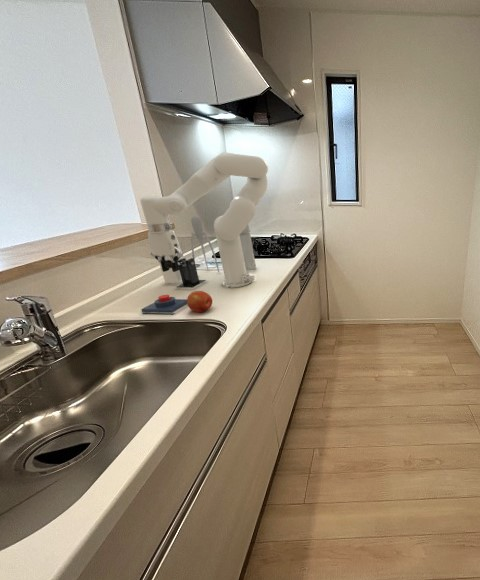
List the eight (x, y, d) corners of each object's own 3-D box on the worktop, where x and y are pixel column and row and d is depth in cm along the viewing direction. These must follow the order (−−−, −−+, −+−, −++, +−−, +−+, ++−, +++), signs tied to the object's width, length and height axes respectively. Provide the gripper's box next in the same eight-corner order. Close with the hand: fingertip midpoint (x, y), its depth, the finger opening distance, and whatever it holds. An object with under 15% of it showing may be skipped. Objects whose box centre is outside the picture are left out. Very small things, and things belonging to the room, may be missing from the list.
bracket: (193, 289, 141) (186, 262, 136) (176, 289, 142) (169, 262, 137) (206, 282, 150) (200, 256, 146) (191, 282, 151) (184, 256, 146)
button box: (190, 304, 125) (188, 295, 124) (172, 315, 116) (170, 305, 115) (162, 303, 126) (159, 294, 125) (142, 314, 117) (139, 304, 116)
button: (172, 298, 121) (171, 294, 121) (166, 302, 118) (164, 298, 117) (164, 298, 122) (162, 294, 121) (157, 302, 118) (155, 298, 118)
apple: (206, 305, 124) (201, 286, 121) (219, 309, 120) (214, 290, 117) (185, 312, 118) (180, 293, 115) (198, 317, 114) (193, 297, 111)
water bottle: (259, 268, 171) (252, 222, 162) (249, 272, 164) (240, 224, 155) (246, 266, 174) (238, 221, 165) (235, 270, 167) (226, 223, 158)
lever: (170, 268, 130) (169, 260, 130) (162, 268, 131) (161, 259, 130) (192, 266, 143) (191, 259, 143) (185, 266, 144) (184, 259, 143)
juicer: (214, 276, 158) (200, 216, 147) (196, 276, 158) (181, 216, 147) (224, 270, 168) (212, 213, 157) (208, 270, 168) (194, 213, 157)
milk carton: (189, 280, 153) (180, 242, 147) (179, 285, 147) (168, 245, 140) (176, 279, 154) (166, 242, 147) (165, 284, 148) (154, 245, 141)
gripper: (185, 226, 130) (195, 268, 136) (147, 226, 131) (159, 268, 137) (172, 229, 123) (183, 273, 129) (132, 229, 124) (146, 273, 130)
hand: (171, 270), depth 133 cm, fingers closed on lever, 3 cm apart
